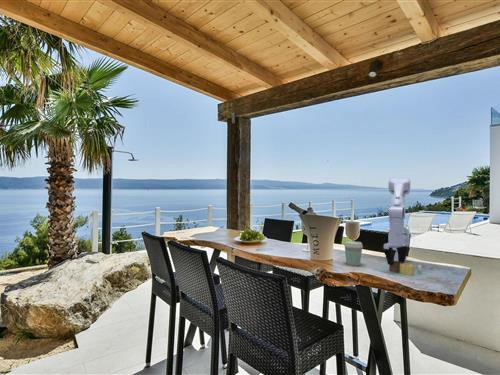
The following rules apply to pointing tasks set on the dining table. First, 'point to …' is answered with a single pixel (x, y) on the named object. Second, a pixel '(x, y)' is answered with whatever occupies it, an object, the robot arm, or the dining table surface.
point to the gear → (395, 266)
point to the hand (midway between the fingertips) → (395, 263)
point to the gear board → (416, 275)
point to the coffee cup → (353, 252)
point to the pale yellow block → (407, 269)
